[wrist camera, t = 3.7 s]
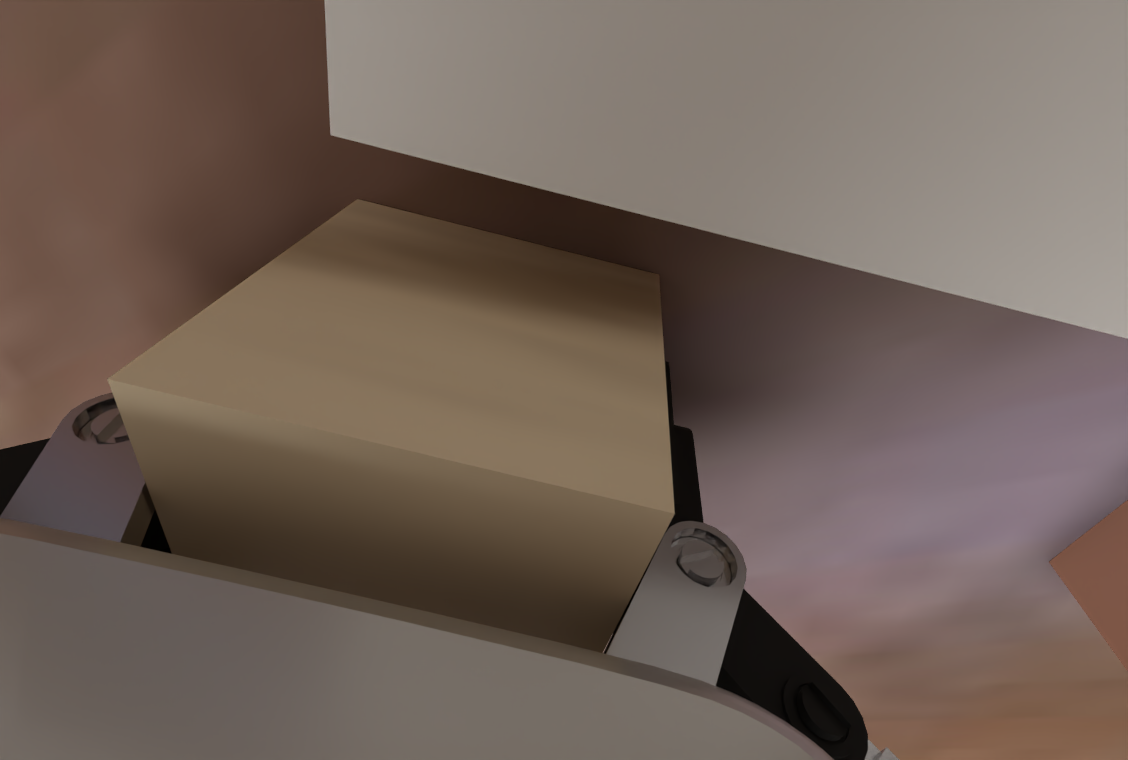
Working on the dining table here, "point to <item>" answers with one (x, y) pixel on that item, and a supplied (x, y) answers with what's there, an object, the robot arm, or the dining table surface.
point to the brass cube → (419, 424)
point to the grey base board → (785, 125)
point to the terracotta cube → (1101, 577)
